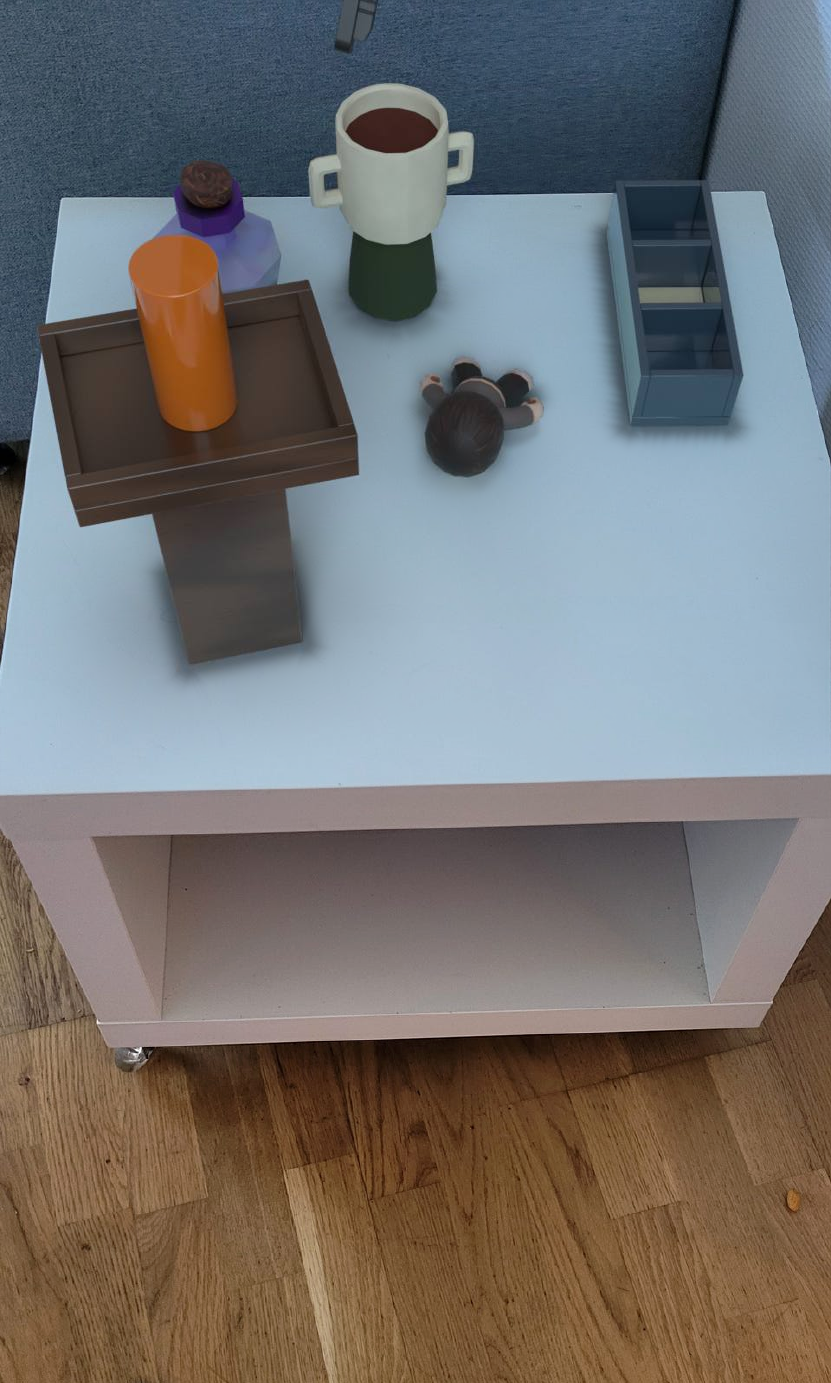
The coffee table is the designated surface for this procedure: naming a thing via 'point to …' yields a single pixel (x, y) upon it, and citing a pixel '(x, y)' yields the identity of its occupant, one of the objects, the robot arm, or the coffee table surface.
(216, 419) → the orange glossy cylinder
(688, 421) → the three-compartment dish
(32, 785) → the coffee table surface
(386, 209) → the character mug
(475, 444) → the figurine
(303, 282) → the walnut tray stand
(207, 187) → the potion bottle
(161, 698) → the coffee table surface
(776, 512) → the coffee table surface
